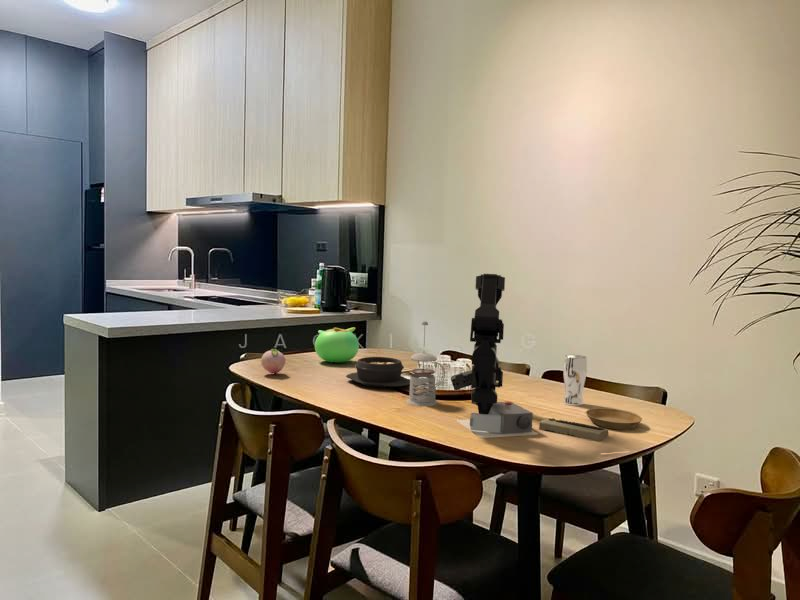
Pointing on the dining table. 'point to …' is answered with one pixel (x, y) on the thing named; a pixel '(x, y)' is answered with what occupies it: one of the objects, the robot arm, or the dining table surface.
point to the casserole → (379, 372)
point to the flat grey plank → (574, 429)
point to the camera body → (513, 417)
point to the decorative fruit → (273, 361)
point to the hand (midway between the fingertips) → (482, 422)
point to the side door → (486, 422)
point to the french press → (423, 380)
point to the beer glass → (574, 379)
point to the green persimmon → (337, 345)
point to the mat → (492, 434)
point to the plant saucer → (613, 418)
